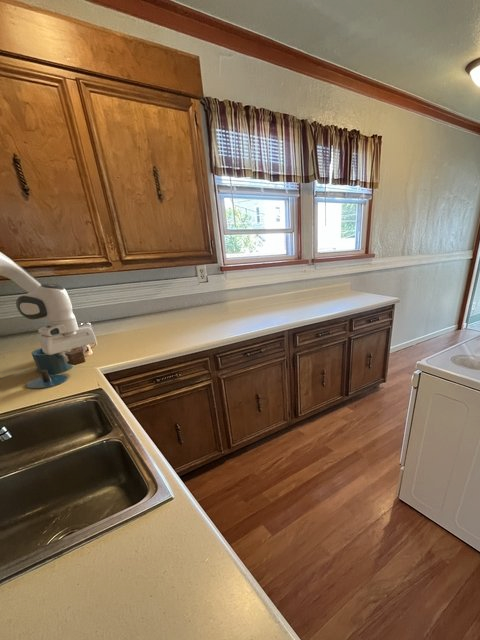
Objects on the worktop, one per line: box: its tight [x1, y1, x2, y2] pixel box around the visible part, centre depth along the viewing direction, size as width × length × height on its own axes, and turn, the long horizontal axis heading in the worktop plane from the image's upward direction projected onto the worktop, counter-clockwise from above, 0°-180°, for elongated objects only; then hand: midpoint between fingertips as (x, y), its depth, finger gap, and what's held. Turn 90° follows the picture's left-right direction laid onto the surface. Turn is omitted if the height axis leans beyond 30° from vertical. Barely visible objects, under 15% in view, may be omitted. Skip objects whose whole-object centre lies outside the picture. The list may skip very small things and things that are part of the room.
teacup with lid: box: [70, 341, 98, 358], centre depth 163 cm, size 12×9×12 cm
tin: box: [31, 348, 74, 375], centre depth 144 cm, size 13×18×10 cm
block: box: [65, 350, 86, 366], centre depth 138 cm, size 5×5×5 cm
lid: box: [26, 370, 69, 390], centre depth 132 cm, size 14×14×6 cm
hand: (75, 358), depth 138 cm, fingers closed on block, 5 cm apart
